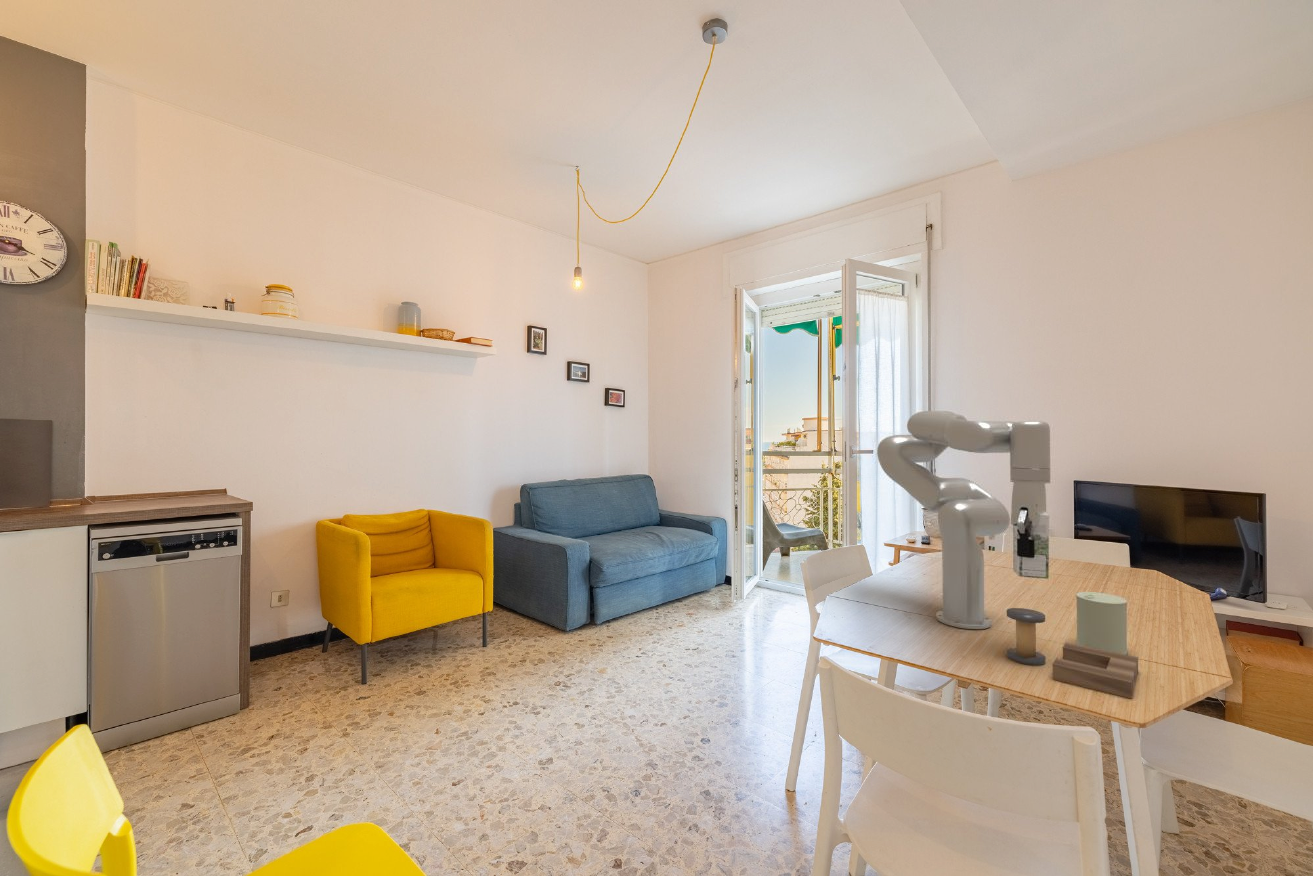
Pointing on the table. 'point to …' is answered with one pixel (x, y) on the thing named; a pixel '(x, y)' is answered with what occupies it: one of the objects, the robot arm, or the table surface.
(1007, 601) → the table surface
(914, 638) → the table surface
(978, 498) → the robot arm
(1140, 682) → the table surface
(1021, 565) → the syrup box
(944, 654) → the table surface
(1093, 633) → the can
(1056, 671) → the notched board
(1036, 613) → the gray-flanged bobbin
